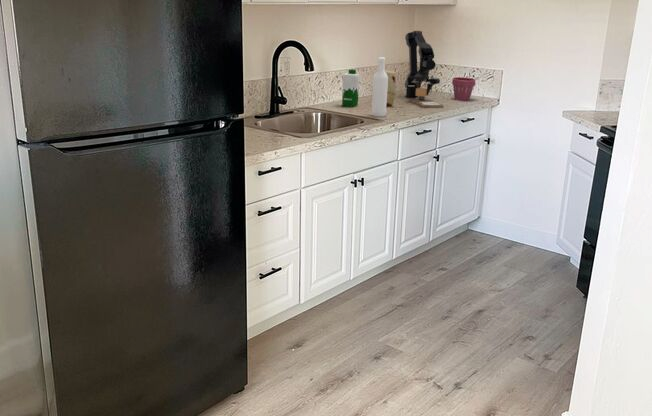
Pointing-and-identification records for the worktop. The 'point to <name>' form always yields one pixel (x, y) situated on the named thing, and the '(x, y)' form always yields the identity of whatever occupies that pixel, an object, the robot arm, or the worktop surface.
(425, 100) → the post board
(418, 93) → the orange tan square block
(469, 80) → the plant pot
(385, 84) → the bottle
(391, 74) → the food model
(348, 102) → the milk carton
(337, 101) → the worktop surface
